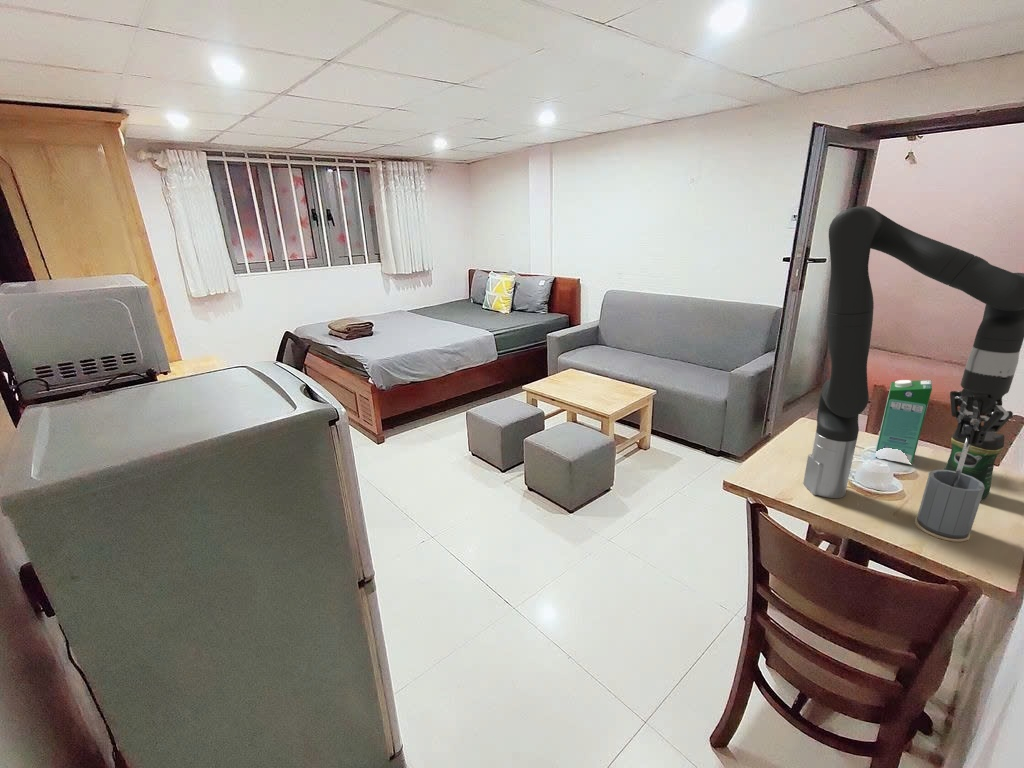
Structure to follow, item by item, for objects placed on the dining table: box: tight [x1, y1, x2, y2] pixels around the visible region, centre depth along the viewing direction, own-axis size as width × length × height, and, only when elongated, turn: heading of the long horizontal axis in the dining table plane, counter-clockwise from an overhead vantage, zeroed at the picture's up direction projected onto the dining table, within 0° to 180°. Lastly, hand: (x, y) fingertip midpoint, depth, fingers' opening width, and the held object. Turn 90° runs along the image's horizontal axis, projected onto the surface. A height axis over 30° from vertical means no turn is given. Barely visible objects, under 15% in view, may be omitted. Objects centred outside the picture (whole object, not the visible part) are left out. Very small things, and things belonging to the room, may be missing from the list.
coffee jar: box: [943, 428, 1005, 500], centre depth 124 cm, size 10×8×19 cm
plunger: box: [952, 422, 974, 487], centre depth 107 cm, size 7×7×19 cm
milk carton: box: [875, 379, 933, 465], centre depth 142 cm, size 9×9×25 cm
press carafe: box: [914, 469, 985, 543], centre depth 111 cm, size 10×10×14 cm
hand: (968, 441), depth 105 cm, fingers closed on plunger, 3 cm apart
